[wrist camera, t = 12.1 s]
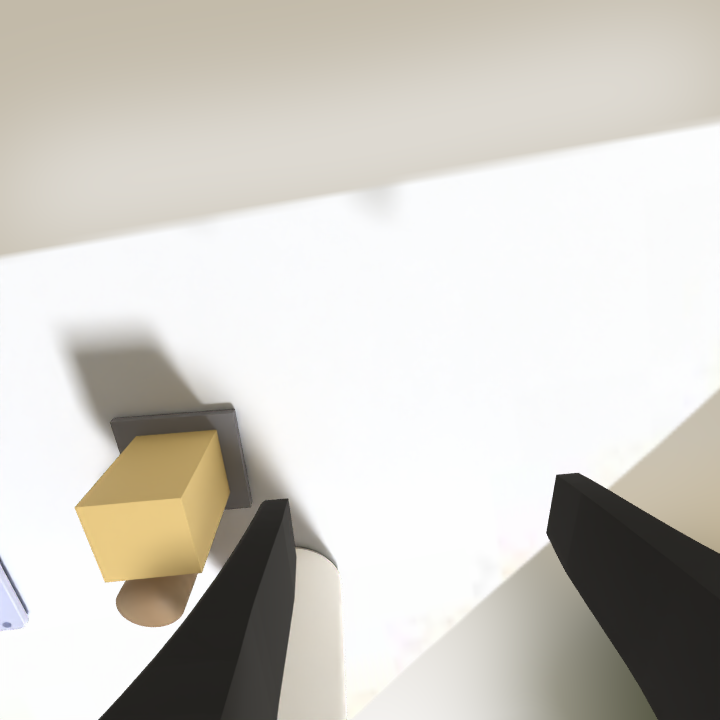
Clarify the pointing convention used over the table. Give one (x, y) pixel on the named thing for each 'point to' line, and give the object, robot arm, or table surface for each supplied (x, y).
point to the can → (315, 644)
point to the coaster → (193, 422)
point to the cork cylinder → (155, 599)
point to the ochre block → (157, 506)
